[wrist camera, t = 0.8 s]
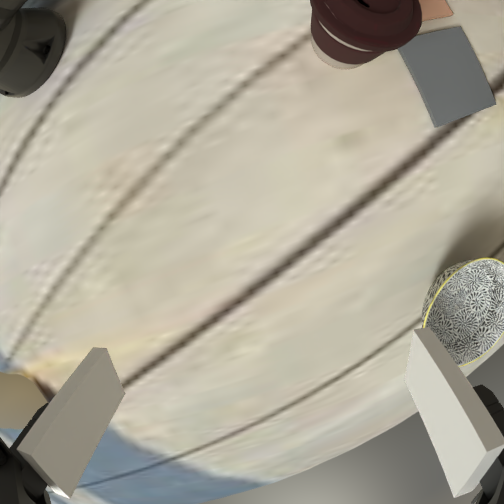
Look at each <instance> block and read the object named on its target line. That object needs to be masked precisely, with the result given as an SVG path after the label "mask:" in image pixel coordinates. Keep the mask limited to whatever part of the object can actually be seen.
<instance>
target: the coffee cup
mask: <svg viewBox="0 0 504 504" xmlns="http://www.w3.org/2000/svg"><path fill="white" fill-rule="evenodd" d="M310 3H311V6H312V17H311V33H312V36H311V42H312V46H313V49H314V51H315V53H316V54H317V55H318V57H319V58H320V59H321V60H322V61H324V62H325V63H327V64H328V65H330V66H332V67H335V68H339V69H352V68H356V67H358V66H360V65H362V64H364V63H367V62H369V61H371V60H373V59H375V58H376V57H378V56H380V55H381V54H383V53H384V52H386V51H391V50H395V49H398V48H400V47H402V46H404V45H405V44H407V43H408V42H409V41H411V40H412V39H413V38H414V37H415V36H416V35H417V33H418V32H419V29H420V27H421V23H422V10H421V5H420V2H419V0H310Z"/></svg>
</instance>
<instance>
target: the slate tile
mask: <svg viewBox="0 0 504 504" xmlns="http://www.w3.org/2000/svg"><path fill="white" fill-rule="evenodd" d="M398 50H399V52H400V54H401V56H402V58H403V60H404V62H405V63H406V65H407V67H408V69H409V71H410V73H411V75H412V77H413V79H414V81H415V83H416V85H417V88H418V90H419V92H420V94H421V96H422V98H423V101H424V103H425V105H426V107H427V110H428V112H429V114H430V117H431V119H432V122H433V124H434V127H439V126H442V125H444V124H447V123H449V122H452V121H454V120H457V119H459V118H462V117H465V116H467V115H470V114H472V113H475V112H478V111H480V110H483V109H485V108H488V107H491V106H493V105H496V102H495V99H494V96H493V94H492V91H491V89H490V86H489V84H488V82H487V79H486V77H485V75H484V72H483V70H482V68H481V66H480V63H479V61H478V59H477V57H476V55H475V53H474V51H473V49H472V47H471V45H470V43H469V41H468V39H467V37H466V35H465V34H464V32H463V30H462V28H461V26H460V27H455V28H450V29H445V30H440V31H435V32H431V33H426V34H422V35H418V36H415V37H414V38H413V39H412V40H411V41H409V42H408V43H407V44H405V45H404V46H402V47H400V48H398Z"/></svg>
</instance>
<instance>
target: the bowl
mask: <svg viewBox="0 0 504 504" xmlns="http://www.w3.org/2000/svg"><path fill="white" fill-rule="evenodd" d="M426 327H430V329H431V330H432V331H433V333H434V334H435V335H436V337H437V338H438V339H439V341H440V342H441V343H442V345H443V346H444V347H445V349H446V350H447V352H448V353H449V354H450V356H451V357H452V358H453V360H454V361H455V363H456V364H457V366H458V367H461V366H464V365H467V364H470V363H472V362H474V361H476V360H477V359H479V358H480V357H482V356H483V355H484V354H486V353H487V352H488V351H489V350H490V349H491V348H492V347H493V346H494V345H495V344H496V343H497V342H498V340H499V339H500V338H501V336H502V335H503V333H504V263H503V262H502V261H500V260H498V259H495V258H490V257H485V258H479V259H475V260H467V261H463V262H459V263H457V264H455V265H453V266H451V267H449V268H448V269H446V270H445V271H444V272H443V273H442V274H441V275H439V276H438V278H437V279H436V280H435V281H434V283H433V284H432V286H431V287H430V289H429V291H428V293H427V296H426V298H425V301H424V305H423V310H422V328H426Z"/></svg>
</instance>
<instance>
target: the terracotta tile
mask: <svg viewBox="0 0 504 504" xmlns="http://www.w3.org/2000/svg"><path fill="white" fill-rule="evenodd" d="M419 2H420V5H421V10H422V21H427V20H432V19H437V18H443V17H448V16H452V15H453V13H452V11H451V9H450V8H449V6H448V5H447V3H446V1H445V0H419Z"/></svg>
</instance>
